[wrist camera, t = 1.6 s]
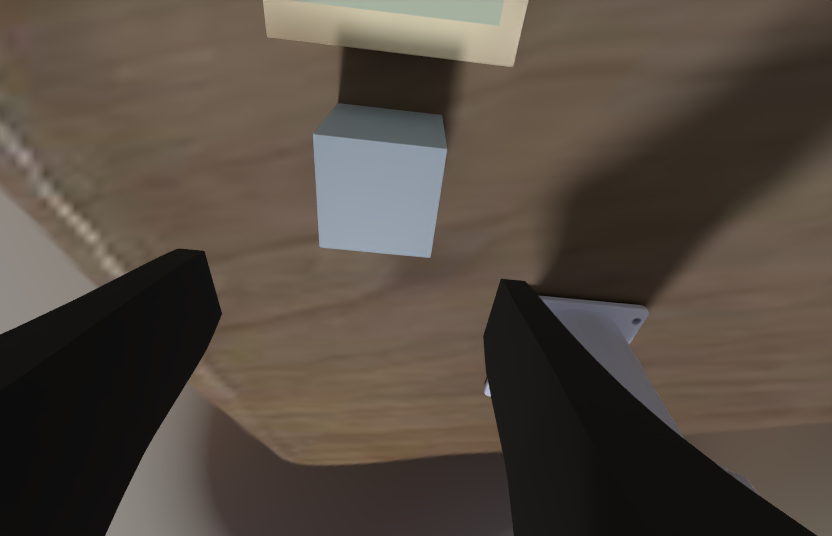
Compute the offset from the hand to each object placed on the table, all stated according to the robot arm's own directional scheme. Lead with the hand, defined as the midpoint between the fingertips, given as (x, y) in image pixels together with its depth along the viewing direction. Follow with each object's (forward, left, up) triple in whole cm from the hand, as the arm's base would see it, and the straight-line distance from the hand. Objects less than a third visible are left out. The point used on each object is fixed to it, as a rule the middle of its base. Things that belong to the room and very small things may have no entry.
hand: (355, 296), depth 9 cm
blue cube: (0, 0, -10) cm, 10 cm away
